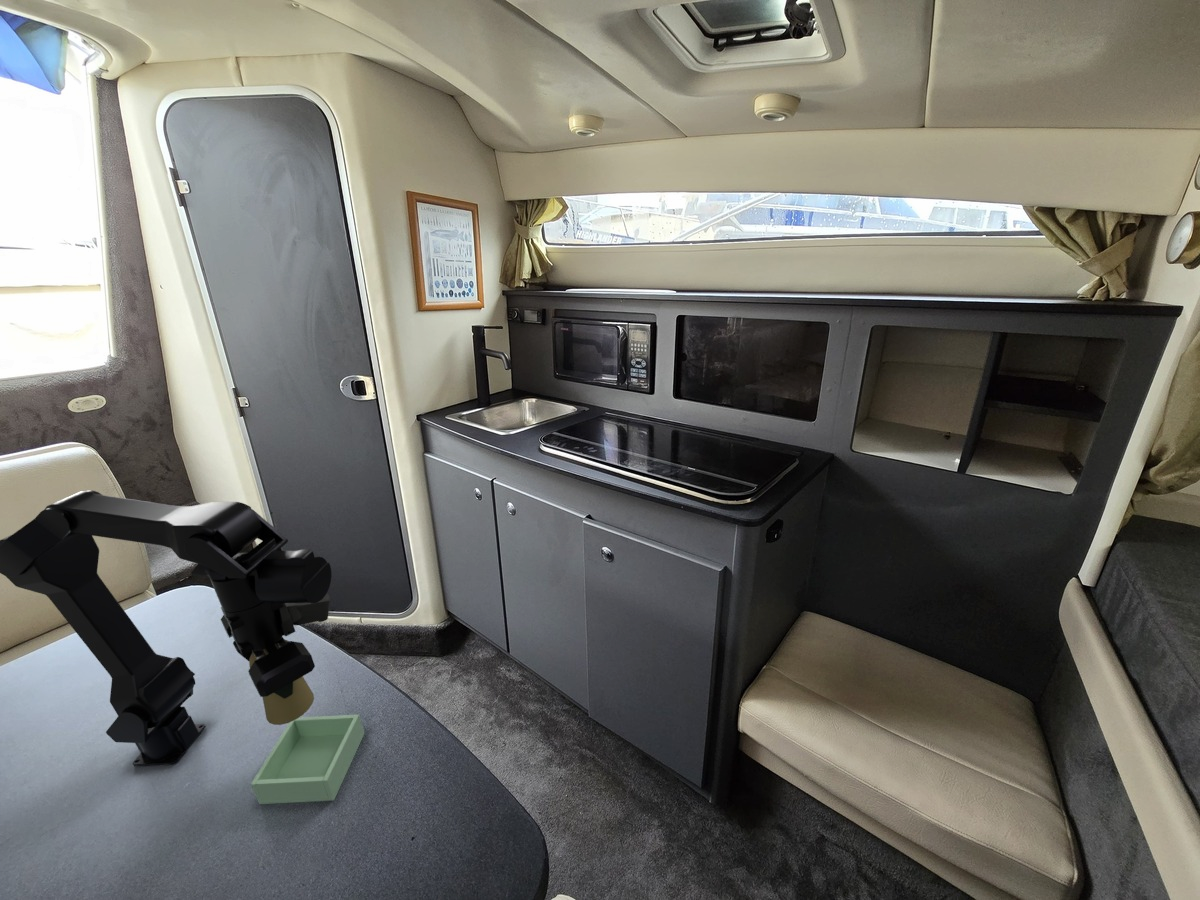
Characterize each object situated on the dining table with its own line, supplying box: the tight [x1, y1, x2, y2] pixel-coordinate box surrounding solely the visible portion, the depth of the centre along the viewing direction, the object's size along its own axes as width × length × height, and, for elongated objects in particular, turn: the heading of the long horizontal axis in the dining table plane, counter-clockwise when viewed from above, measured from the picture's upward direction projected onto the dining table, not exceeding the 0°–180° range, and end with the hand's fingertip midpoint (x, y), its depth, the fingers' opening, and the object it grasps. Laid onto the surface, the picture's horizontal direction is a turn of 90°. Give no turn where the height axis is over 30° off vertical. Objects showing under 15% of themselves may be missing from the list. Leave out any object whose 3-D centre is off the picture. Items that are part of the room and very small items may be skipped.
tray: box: [250, 714, 365, 805], centre depth 72 cm, size 10×10×4 cm
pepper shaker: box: [248, 638, 315, 726], centre depth 69 cm, size 6×6×11 cm
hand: (282, 687), depth 70 cm, fingers closed on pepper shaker, 4 cm apart
